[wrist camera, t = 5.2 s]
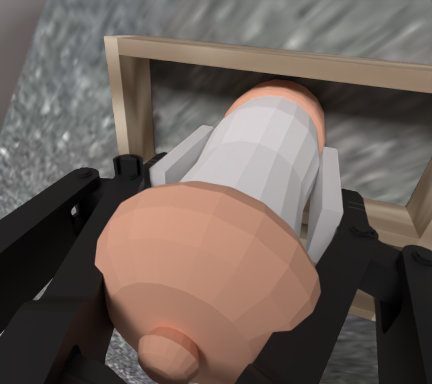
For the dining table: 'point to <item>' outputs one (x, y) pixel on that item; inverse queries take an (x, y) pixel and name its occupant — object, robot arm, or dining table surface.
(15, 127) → the dining table surface
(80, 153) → the dining table surface
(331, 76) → the rack
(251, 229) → the salt shaker
